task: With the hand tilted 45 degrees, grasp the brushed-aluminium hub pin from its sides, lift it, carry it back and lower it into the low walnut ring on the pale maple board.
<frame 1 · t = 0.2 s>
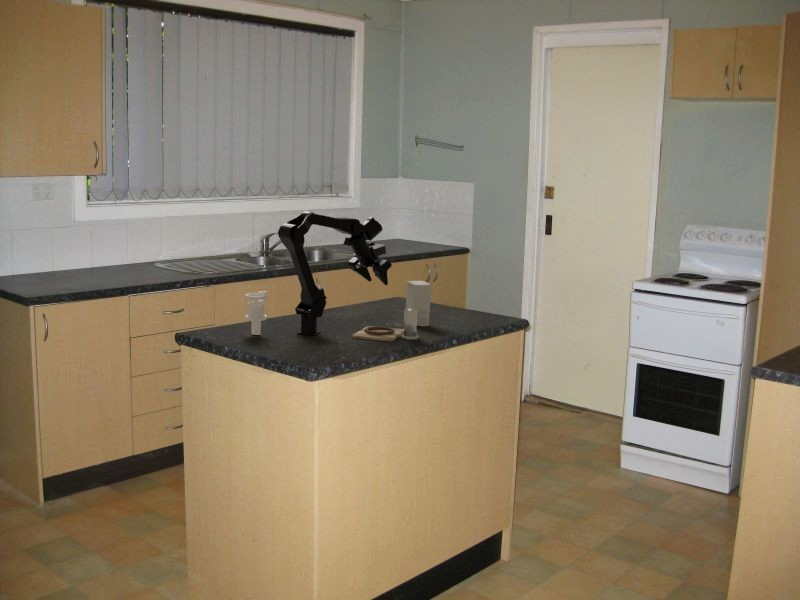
hand: (378, 282, 326), 15 cm above the countertop, tool tilted 35°, fingers open, 9 cm apart
skincare box: (417, 324, 327), on the countertop
maple board: (379, 335, 308), on the countertop
aluminium hub pin: (409, 338, 305), on the countertop
grey stepped cylinder: (256, 335, 303), on the countertop
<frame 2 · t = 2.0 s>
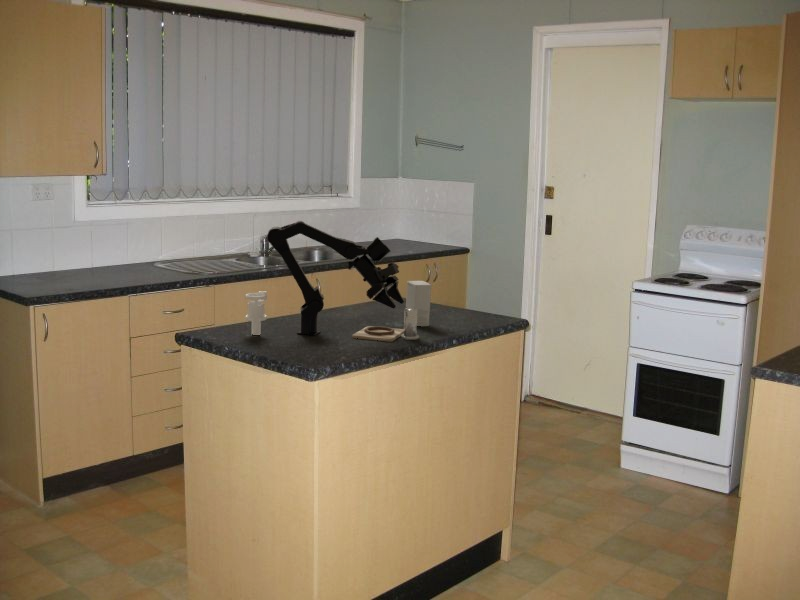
hand: (398, 305, 304), 11 cm above the countertop, tool tilted 45°, fingers open, 9 cm apart
nothing on the countertop moved.
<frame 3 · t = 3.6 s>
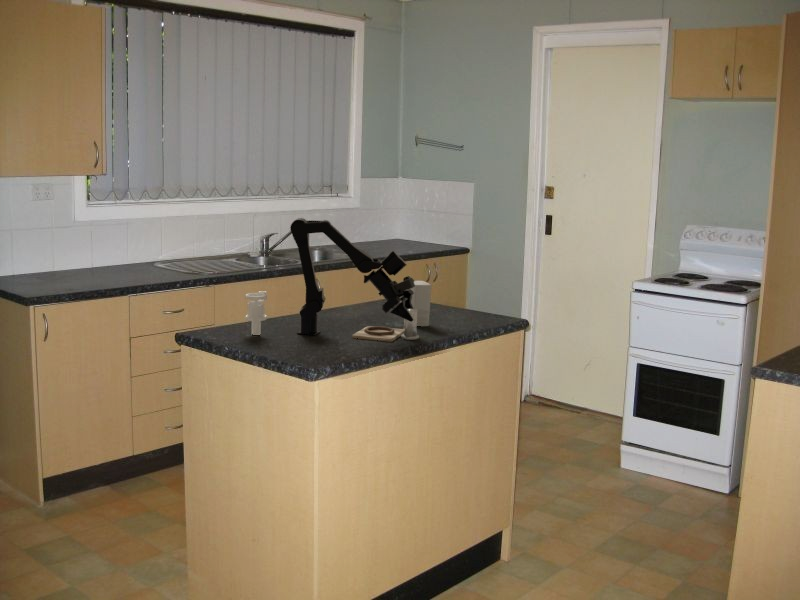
hand: (414, 319, 303), 7 cm above the countertop, tool tilted 45°, fingers closed on aluminium hub pin, 4 cm apart
aluminium hub pin: (409, 338, 305), on the countertop, touching gripper
everything else where it was.
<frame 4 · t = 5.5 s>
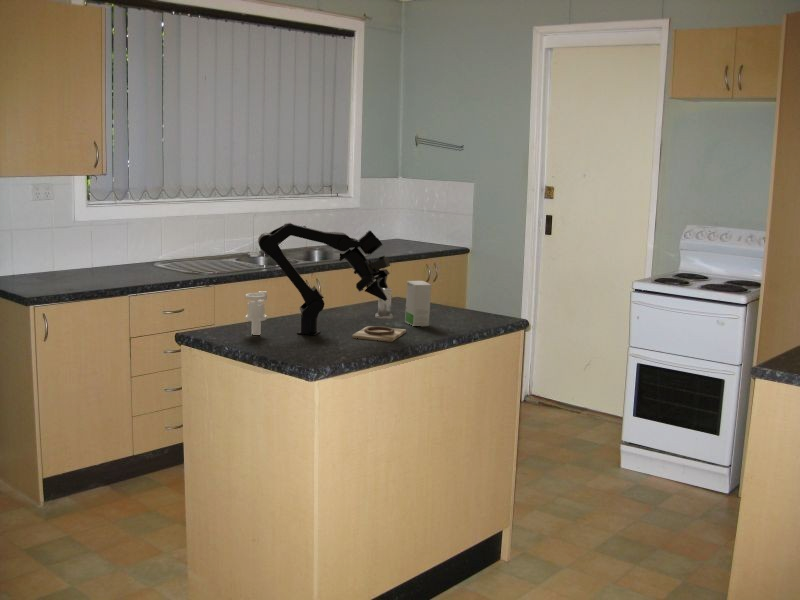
hand: (388, 298, 305), 13 cm above the countertop, tool tilted 45°, fingers closed on aluminium hub pin, 4 cm apart
aluminium hub pin: (383, 317, 306), point 6 cm above the countertop, touching gripper
everything else where it was.
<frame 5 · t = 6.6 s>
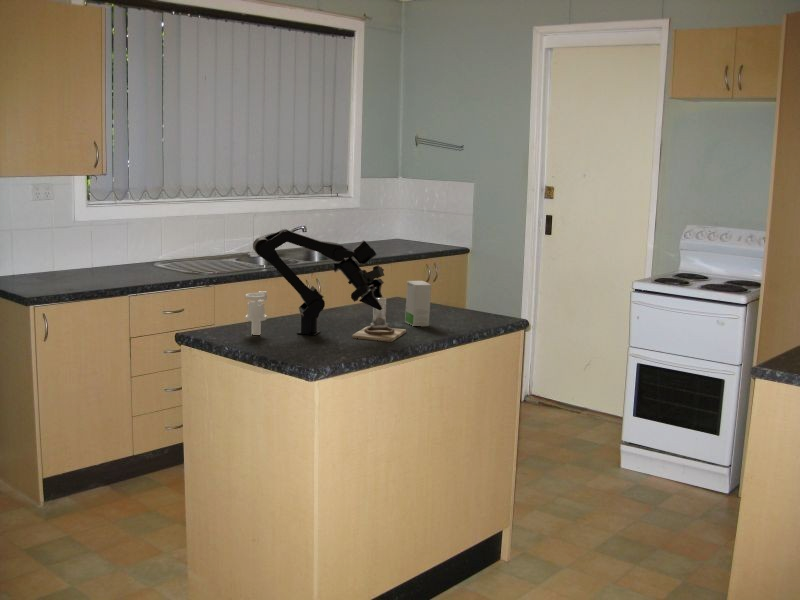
hand: (383, 308, 306), 9 cm above the countertop, tool tilted 45°, fingers closed on aluminium hub pin, 4 cm apart
aluminium hub pin: (378, 326, 308), point 3 cm above the countertop, touching gripper
everything else where it was.
when the fingers open (8 cm above the countertop, at t = 7.3 s): aluminium hub pin stays where it is, resting on maple board.
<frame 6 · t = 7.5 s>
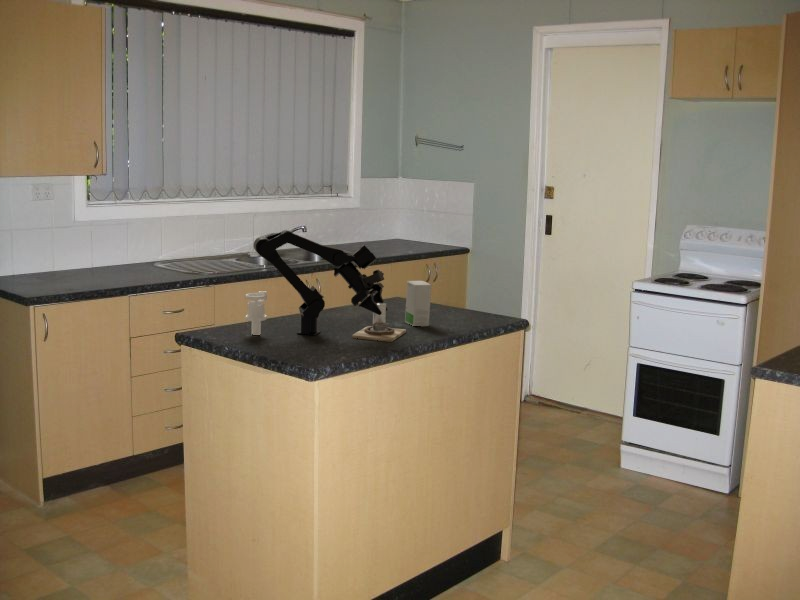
hand: (383, 312, 306), 8 cm above the countertop, tool tilted 45°, fingers open, 6 cm apart
aluminium hub pin: (378, 332, 308), point 1 cm above the countertop, touching maple board
everything else where it was.
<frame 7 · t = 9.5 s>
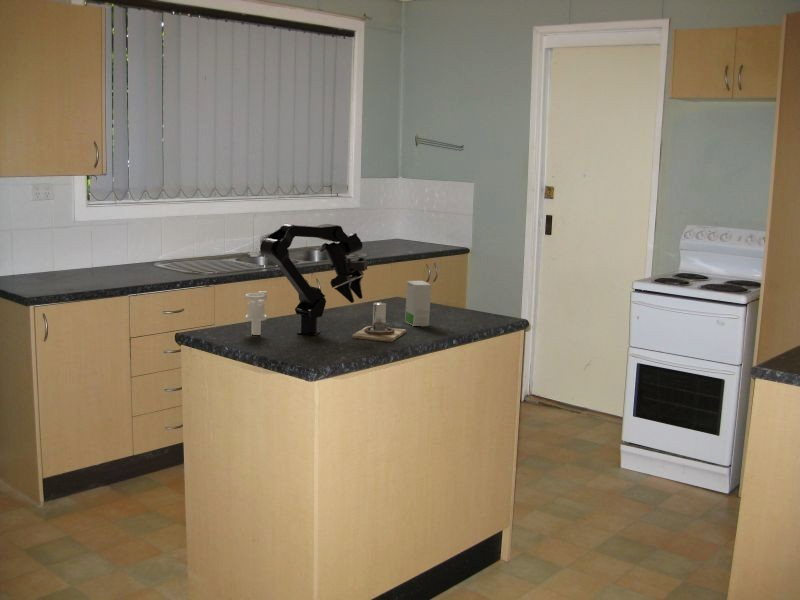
hand: (357, 300, 311), 11 cm above the countertop, tool tilted 25°, fingers open, 9 cm apart
nothing on the countertop moved.
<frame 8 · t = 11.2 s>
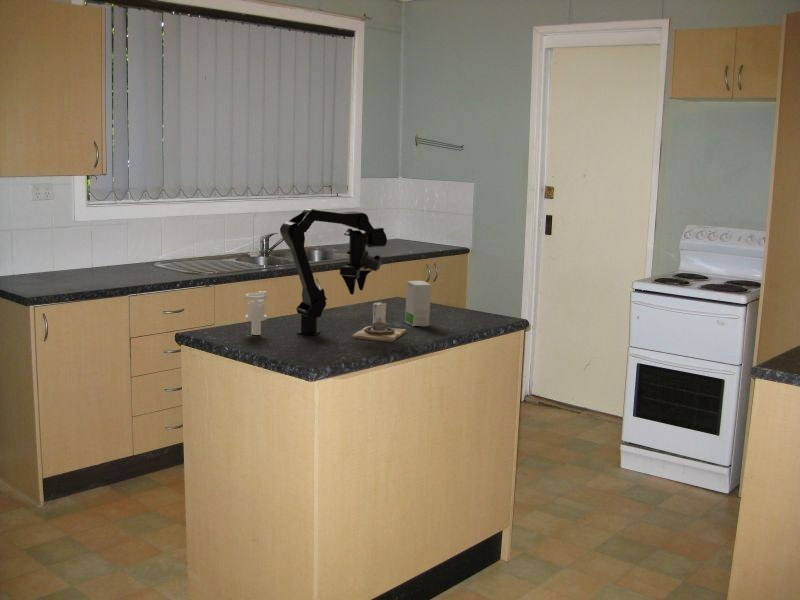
hand: (356, 292, 315), 13 cm above the countertop, tool pointing down, fingers open, 9 cm apart
nothing on the countertop moved.
at the end: aluminium hub pin 0.2 cm from the maple board (horizontally); aluminium hub pin point 1.0 cm above the countertop; aluminium hub pin tilted 0° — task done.
